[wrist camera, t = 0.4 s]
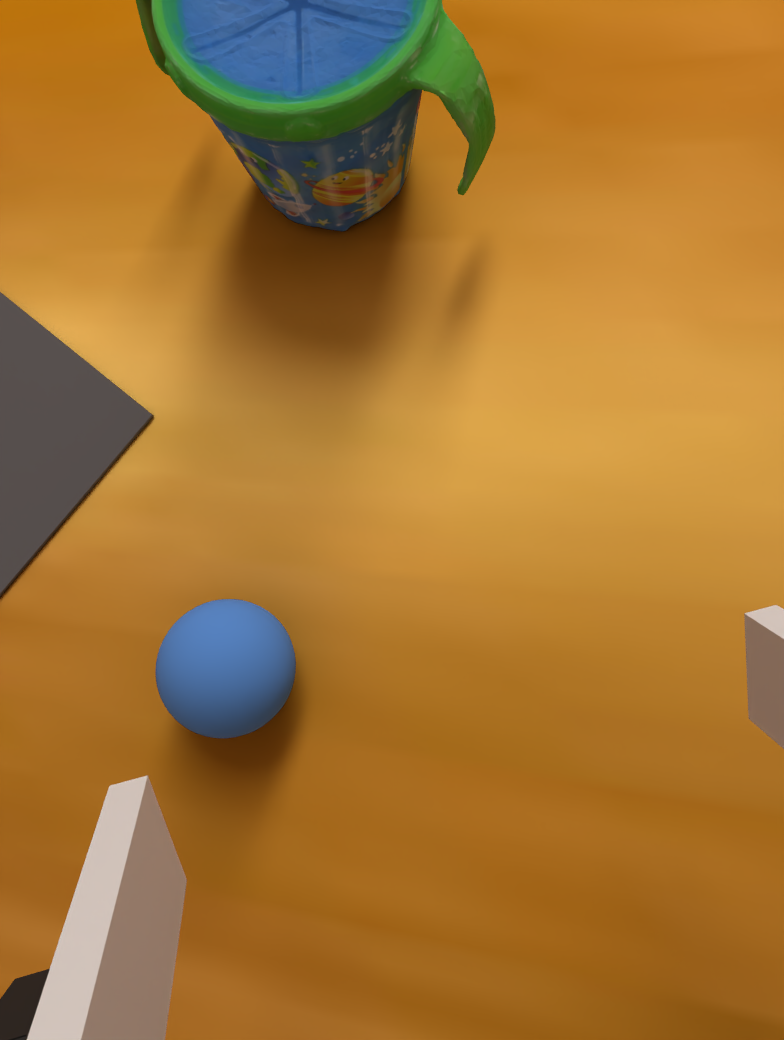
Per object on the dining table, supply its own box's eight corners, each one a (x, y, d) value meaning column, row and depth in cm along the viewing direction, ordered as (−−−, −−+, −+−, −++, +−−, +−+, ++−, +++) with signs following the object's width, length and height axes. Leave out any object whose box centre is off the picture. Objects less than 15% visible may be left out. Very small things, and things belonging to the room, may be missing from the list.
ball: (328, 693, 31) (303, 706, 26) (215, 750, 31) (166, 774, 26) (276, 581, 32) (241, 570, 27) (166, 636, 32) (109, 636, 27)
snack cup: (528, 153, 34) (562, -45, 24) (412, 329, 33) (398, 198, 23) (266, 19, 37) (200, -212, 27) (150, 180, 36) (36, 2, 26)
